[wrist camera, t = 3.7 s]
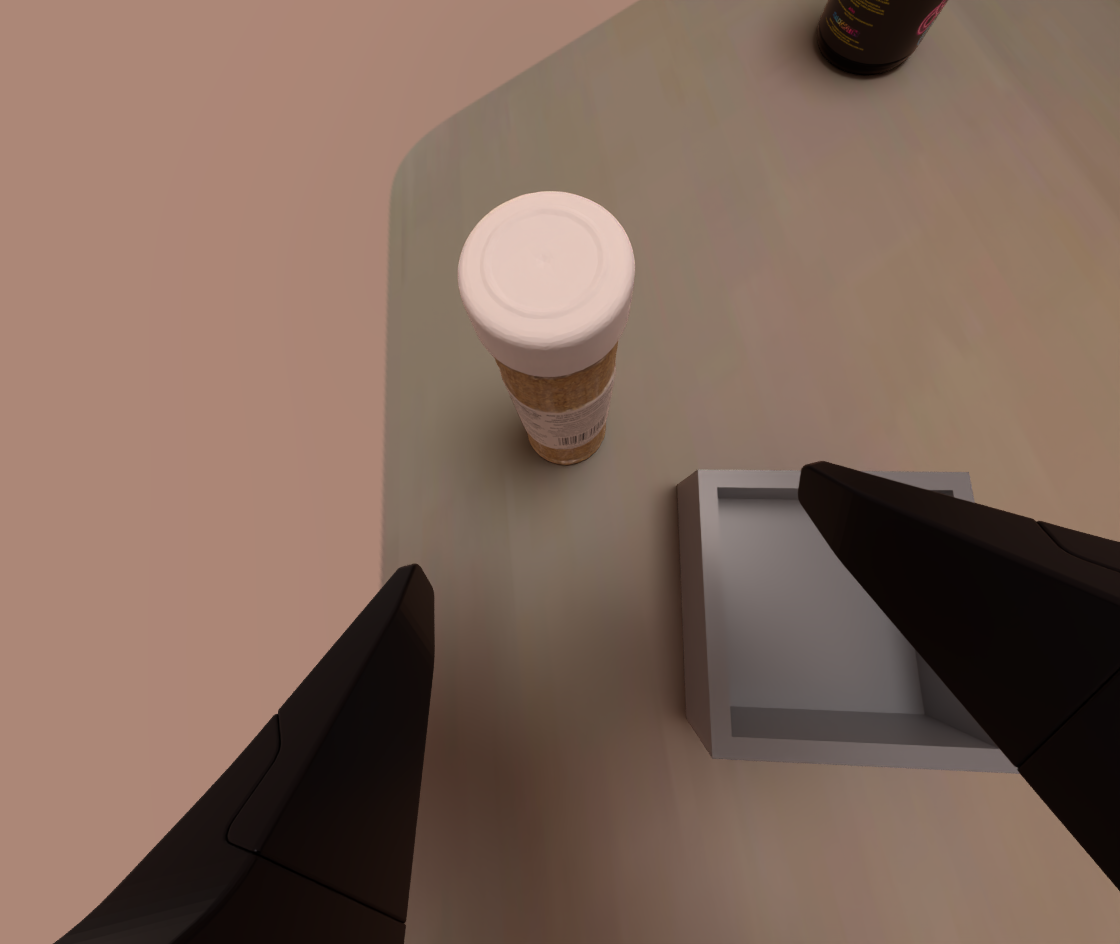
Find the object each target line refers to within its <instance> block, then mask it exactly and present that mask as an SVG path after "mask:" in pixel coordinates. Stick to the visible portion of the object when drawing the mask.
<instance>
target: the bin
mask: <svg viewBox="0 0 1120 944" xmlns="http://www.w3.org/2000/svg"><path fill="white" fill-rule="evenodd" d="M861 472H865V473H869V474H872V475H876V476H879V477H883V478H887V479H890V480H894V481H897V482H901V483H905V484H908V485H912V486H916V487H919V488H923V489H926V490H930V491H934V492H937V493H941V494H945V495H948V496H952V497H955V498H959V499H963V500H966V501H970V502H973V503H975V502H974V496H973V491H972V486H971V481H970V476H969V472H895V471H861ZM800 474H801V471H794V470H697V471H695V472H694V473H693V474H691V475H690V476H688V477H687V478H686V479H684V480H683V481H682V482H680V483H679V484H678V485H677V496H678V521H679V547H680V573H681V598H682V624H683V649H684V675H685V700H686V718H687V720H688V722H689V723H690V725H691V726H692V728H693V729H694V731H695V732H696V734H697V735H698V737H699V739H700V740H701V742H702V743H703V745H704V746H705V748H706V749H707V751H708V752H709V754H710V756H711V757H712V759H731V760H751V761H771V762H792V763H812V764H833V765H853V766H873V767H894V768H914V769H934V770H955V771H975V772H995V773H1016V774H1020V773H1019V772H1018V770H1017V767H1015V766H1014V765H1013V764H1012V763H1011V762H1010V761H1009V760H1008V758H1007V757H1006V756H1005V755H1004V754H1003V753H1002V751H1001V750H1000V749H999V748H998V747H997V745H996V744H995V743H994V742H993V741H992V740H991V738H990V737H989V736H988V735H987V734H986V733H985V731H984V730H983V729H982V728H981V727H980V725H979V724H978V723H977V722H976V721H975V720H974V718H973V717H972V716H971V715H970V714H969V712H968V711H967V710H966V709H965V708H964V707H963V705H962V704H961V703H960V702H959V701H958V700H957V698H956V697H955V696H954V695H953V694H952V692H951V691H950V690H949V689H948V688H947V687H946V685H945V684H944V683H943V682H942V681H941V680H940V678H939V677H938V676H937V675H936V674H935V672H934V671H933V670H932V669H931V668H930V667H929V665H928V664H927V663H926V662H925V661H924V659H923V658H922V657H921V656H920V655H919V654H918V652H917V651H916V650H915V649H914V648H913V647H912V645H911V644H910V643H909V642H908V641H907V639H906V638H905V637H904V636H903V635H902V634H901V632H900V631H899V630H898V629H897V628H896V627H895V625H894V624H893V623H892V622H891V621H890V619H889V618H888V617H887V616H886V615H885V614H884V612H883V611H882V610H881V609H880V608H879V606H878V605H877V604H876V603H875V602H874V601H873V599H872V598H871V597H870V596H869V595H868V594H867V592H866V591H865V590H864V589H863V588H862V586H861V585H860V584H859V583H858V582H857V581H856V579H855V578H854V577H853V576H852V575H851V573H850V572H849V571H848V570H847V569H846V568H845V566H844V565H843V564H842V563H841V561H840V560H839V559H838V558H837V556H836V555H835V554H834V552H833V551H832V550H831V548H830V547H829V545H828V544H827V542H826V541H825V539H824V538H823V536H822V535H821V534H820V532H819V531H818V529H817V528H816V526H815V525H814V523H813V522H812V520H811V519H810V517H809V516H808V514H807V513H806V512H805V510H804V509H803V507H802V506H801V504H800V502H799V500H798V487H799V480H800Z"/></svg>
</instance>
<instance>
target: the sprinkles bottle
mask: <svg viewBox="0 0 1120 944" xmlns="http://www.w3.org/2000/svg"><path fill="white" fill-rule="evenodd" d="M634 275H635V260H634V255H633V250H632V246H631V244H630V241H629V238H628V236H627V234H626V232H625V231H624V229H623V228H622V226H621V225H620V223H619V222H618V221H617V220H616V218H615V217H614V216H613V215H612V214H611V213H610V212H608V211H607V210H606V209H605V208H603V207H602V206H600V205H599V204H597V203H595V202H593V201H591V200H589V199H586V198H584V197H581V196H578V195H575V194H570V193H565V192H554V191H545V192H536V193H530V194H525V195H522V196H519V197H516V198H514V199H511V200H509V201H507V202H505V203H503V204H501V205H499V206H498V207H496V208H495V209H493V210H492V211H491V212H489V213H488V214H487V215H486V216H485V217H483V218H482V219H481V220H480V222H479V223H478V224H477V225H476V227H475V228H474V229H473V230H472V232H471V233H470V235H469V237H468V239H467V240H466V242H465V245H464V247H463V249H462V253H461V256H460V260H459V265H458V285H459V290H460V294H461V298H462V301H463V304H464V306H465V309H466V311H467V313H468V316H469V318H470V320H471V322H472V324H473V326H474V328H475V331H476V333H477V335H478V337H479V339H480V341H481V342H482V344H483V345H484V346H485V348H486V349H487V350H488V351H489V352H490V353H491V354H492V356H493V357H494V358H495V360H496V363H497V365H498V366H499V368H500V372H501V376H502V379H503V381H504V384H505V386H506V388H507V390H508V392H509V394H510V397H511V399H512V401H513V403H514V405H515V408H516V410H517V412H518V415H519V417H520V419H521V421H522V424H523V426H524V427H525V429H526V431H527V433H528V438H529V441H530V444H531V445H532V447H533V449H534V450H535V451H536V452H537V453H538V454H539V455H540V456H541V457H543V458H544V459H546V460H548V461H550V462H553V463H556V464H562V465H569V464H573V463H578V462H580V461H582V460H586V459H587V458H589V457H590V456H591V455H592V454H593V453H595V451H596V450H597V449H598V448H599V446H600V444H601V442H602V440H603V439H604V435H605V430H606V419H607V415H608V410H609V404H610V399H611V394H612V388H613V383H614V378H615V371H616V367H615V358H616V351H617V346H618V339H619V338H620V336H621V335H622V333H623V331H624V328H625V326H626V323H627V320H628V316H629V311H630V305H631V299H632V293H633V286H634Z"/></svg>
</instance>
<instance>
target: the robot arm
mask: <svg viewBox="0 0 1120 944" xmlns="http://www.w3.org/2000/svg"><path fill="white" fill-rule="evenodd" d="M798 500H799V502H800V504H801V506H802V507H803V509H804V510H805V512H806V513H807V514H808V516H809V517H810V519H811V520H812V522H813V523H814V525H815V526H816V528H817V529H818V531H819V532H820V534H821V535H822V536H823V538H824V539H825V541H826V542H827V544H828V545H829V547H830V548H831V550H832V551H833V552H834V554H835V555H836V556H837V558H838V559H839V560H840V561H841V563H842V564H843V565H844V566H845V568H846V569H847V570H848V571H849V572H850V573H851V575H852V576H853V577H854V578H855V579H856V581H857V582H858V583H859V584H860V585H861V586H862V588H863V589H864V590H865V591H866V592H867V594H868V595H869V596H870V597H871V598H872V599H873V601H874V602H875V603H876V604H877V605H878V606H879V608H880V609H881V610H882V611H883V612H884V614H885V615H886V616H887V617H888V618H889V619H890V621H891V622H892V623H893V624H894V625H895V627H896V628H897V629H898V630H899V631H900V632H901V634H902V635H903V636H904V637H905V638H906V639H907V641H908V642H909V643H910V644H911V645H912V647H913V648H914V649H915V650H916V651H917V652H918V654H919V655H920V656H921V657H922V658H923V659H924V661H925V662H926V663H927V664H928V665H929V667H930V668H931V669H932V670H933V671H934V672H935V674H936V675H937V676H938V677H939V678H940V680H941V681H942V682H943V683H944V684H945V685H946V687H947V688H948V689H949V690H950V691H951V692H952V694H953V695H954V696H955V697H956V698H957V700H958V701H959V702H960V703H961V704H962V705H963V707H964V708H965V709H966V710H967V711H968V712H969V714H970V715H971V716H972V717H973V718H974V720H975V721H976V722H977V723H978V724H979V725H980V727H981V728H982V729H983V730H984V731H985V733H986V734H987V735H988V736H989V737H990V738H991V740H992V741H993V742H994V743H995V744H996V745H997V747H998V748H999V749H1000V750H1001V751H1002V753H1003V754H1004V755H1005V756H1006V757H1007V758H1008V760H1009V761H1010V762H1011V763H1012V764H1013V765H1014V766H1015V767H1017V770H1018V772H1019V773H1020V774H1021V775H1022V777H1023V778H1024V779H1025V780H1026V781H1027V782H1028V784H1029V785H1030V786H1031V787H1032V788H1033V790H1034V791H1035V792H1036V793H1037V794H1038V795H1039V797H1040V798H1041V799H1042V800H1043V801H1044V802H1045V804H1046V805H1047V806H1048V807H1049V808H1050V810H1051V811H1052V812H1053V813H1054V814H1055V815H1056V817H1057V818H1058V819H1059V820H1060V821H1061V822H1062V824H1063V825H1064V826H1065V827H1066V828H1067V830H1068V831H1069V832H1070V833H1071V834H1072V835H1073V837H1074V838H1075V839H1076V840H1077V841H1078V842H1079V844H1080V845H1081V846H1082V847H1083V848H1084V850H1085V851H1086V852H1087V853H1088V854H1089V855H1090V857H1091V858H1092V859H1093V860H1094V861H1095V862H1096V864H1097V865H1098V866H1099V867H1100V868H1101V870H1102V871H1103V872H1104V873H1105V874H1106V875H1107V877H1108V878H1109V879H1110V880H1111V881H1112V883H1113V884H1114V885H1115V886H1116V887H1117V888H1118V890H1119V891H1120V542H1117V541H1113V540H1109V539H1105V538H1102V537H1098V536H1094V535H1090V534H1086V533H1083V532H1079V531H1075V530H1071V529H1068V528H1064V527H1060V526H1057V525H1053V524H1050V523H1046V522H1043V521H1037V522H1036V521H1035V520H1034V519H1031V518H1028V517H1024V516H1021V515H1017V514H1013V513H1010V512H1006V511H1002V510H999V509H995V508H992V507H988V506H984V505H981V504H977V503H973V502H970V501H966V500H963V499H959V498H955V497H952V496H948V495H945V494H941V493H937V492H934V491H930V490H926V489H923V488H919V487H916V486H912V485H908V484H905V483H901V482H897V481H894V480H890V479H887V478H883V477H879V476H876V475H872V474H869V473H865V472H861V471H858V470H854V469H851V468H847V467H843V466H840V465H836V464H832V463H829V462H825V461H818V462H814V463H810V464H807V465H805V466H803V468H802V469H801V474H800V480H799V487H798ZM434 651H435V638H434V591H433V588H432V586H431V584H430V582H429V580H428V579H427V577H426V575H425V573H424V572H423V570H422V568H421V567H420V566H419V565H418V564H411V565H407V566H403V567H400V568H399V569H398V570H397V571H396V572H395V573H394V574H393V575H392V576H391V578H390V579H389V580H388V581H387V582H386V584H385V585H384V586H383V587H382V588H381V589H380V591H379V592H378V593H377V594H376V595H375V597H374V598H373V599H372V600H371V601H370V602H369V604H368V605H367V606H366V607H365V609H364V610H363V611H362V612H361V613H360V614H359V615H358V617H357V618H356V619H355V620H354V622H353V623H352V624H351V625H350V626H349V628H348V629H347V630H346V631H345V632H344V633H343V635H342V636H341V637H340V638H339V639H338V640H337V642H336V643H335V644H334V645H333V646H332V647H331V649H330V650H329V651H328V652H327V653H326V655H325V656H324V657H323V658H322V659H321V660H320V662H319V663H318V664H317V665H316V666H315V667H314V669H313V670H312V671H311V672H310V673H309V675H308V676H307V677H306V678H305V679H304V680H303V682H302V683H301V684H300V685H299V687H298V688H297V689H296V690H295V691H294V692H293V693H292V695H291V696H290V697H289V698H288V699H287V701H286V702H285V703H284V704H283V705H282V707H281V708H280V709H279V710H278V714H275V715H274V716H273V717H272V718H271V719H270V720H269V722H268V723H267V724H266V725H265V726H264V728H263V729H262V730H261V731H260V732H259V733H258V735H257V736H256V737H255V738H254V739H253V740H252V742H251V743H250V744H249V745H248V746H247V748H245V750H244V751H243V752H242V753H241V754H240V755H239V756H238V758H237V759H236V760H235V761H234V762H233V763H232V765H231V766H230V767H229V768H228V769H227V770H226V771H225V772H224V773H223V774H222V775H221V777H220V778H219V779H218V780H217V781H216V782H215V783H214V784H213V785H212V786H211V788H209V789H208V791H207V792H206V793H205V794H204V795H203V796H202V797H201V798H200V799H199V801H197V802H196V804H195V805H194V806H193V807H192V808H191V809H190V810H189V811H188V812H187V813H186V814H185V815H184V816H183V818H181V819H180V820H179V822H178V823H177V824H176V825H175V826H174V827H173V828H172V829H171V830H170V831H169V832H168V833H167V834H166V835H165V836H164V838H163V839H162V840H161V841H160V842H159V843H158V844H157V845H156V846H155V847H154V848H153V849H152V850H151V851H150V852H149V853H148V854H147V856H146V857H145V858H144V859H143V860H142V861H141V862H140V863H139V864H138V865H137V866H136V867H135V868H134V869H133V871H132V872H130V874H129V875H128V876H127V877H126V878H125V879H124V880H123V881H122V882H121V883H120V884H119V885H118V886H117V887H116V888H115V889H114V890H113V891H112V892H111V893H110V895H108V896H107V898H106V899H104V901H102V903H101V904H100V905H98V906H97V907H96V908H95V909H94V910H93V911H92V912H91V913H90V914H89V915H88V916H86V917H85V918H84V919H83V920H82V921H81V922H80V923H79V924H77V925H76V926H75V927H74V928H72V930H70V931H69V932H68V933H66V934H65V935H64V936H63V937H61V938H60V939H59V940H57V941H56V942H55V943H53V944H404V938H405V929H406V925H405V924H404V923H405V922H406V917H407V908H408V899H409V890H410V880H411V871H412V862H413V853H414V844H415V835H416V825H417V816H418V807H419V798H420V789H421V780H422V770H423V761H424V752H425V743H426V734H427V725H428V715H429V706H430V697H431V688H432V679H433V669H434Z"/></svg>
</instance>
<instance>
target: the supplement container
mask: <svg viewBox="0 0 1120 944" xmlns="http://www.w3.org/2000/svg"><path fill="white" fill-rule="evenodd" d="M947 1H948V0H828V2H827V4H826V6H825V8H824V11H823V13H822V15H821V17H820V20H819V24H818V30H817V39H818V44H819V48H820V51H821V53H822V54H823V56H824V57H825V58H826V59H827V60H828V61H829V62H830V63H831V64H832V65H834V66H835V67H837V68H839V69H841V70H843V71H846V72H849V73H853V74H859V75H872V74H879V73H883V72H885V71H888V70H890V69H892V68H894V67H896V66H898V65H899V64H901V63H902V62H904V61H905V60H906V59H907V58H908V57H909V56H910V55H911V54H912V53H913V52H914V51H915V50H916V48H917V47H918V45H919V44H920V42H921V41H922V39H923V38H924V36H925V35H926V33H927V32H928V30H929V29H930V27H931V26H932V24H933V23H934V21H935V20H936V18H937V17H938V15H939V14H940V12H941V11H942V9H943V8H944V6H945V5H946V3H947Z"/></svg>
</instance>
